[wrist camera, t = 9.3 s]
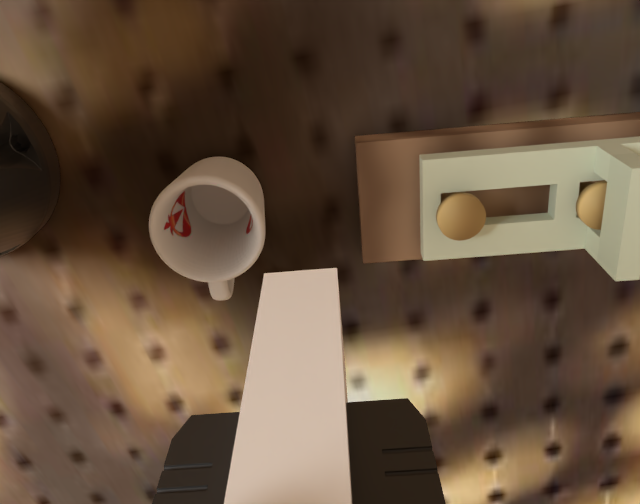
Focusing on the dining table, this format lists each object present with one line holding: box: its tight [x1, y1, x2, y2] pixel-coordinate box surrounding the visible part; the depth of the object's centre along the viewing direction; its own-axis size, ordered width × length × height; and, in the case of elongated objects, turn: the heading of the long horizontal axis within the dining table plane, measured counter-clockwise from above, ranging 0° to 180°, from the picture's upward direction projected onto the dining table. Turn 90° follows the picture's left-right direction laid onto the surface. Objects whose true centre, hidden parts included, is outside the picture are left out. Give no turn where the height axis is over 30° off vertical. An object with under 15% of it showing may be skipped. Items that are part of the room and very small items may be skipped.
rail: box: [355, 112, 640, 264], centre depth 45 cm, size 26×10×6 cm, turn 95°
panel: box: [419, 136, 640, 281], centre depth 42 cm, size 21×8×7 cm, turn 95°
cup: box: [149, 157, 265, 301], centre depth 45 cm, size 11×8×8 cm
